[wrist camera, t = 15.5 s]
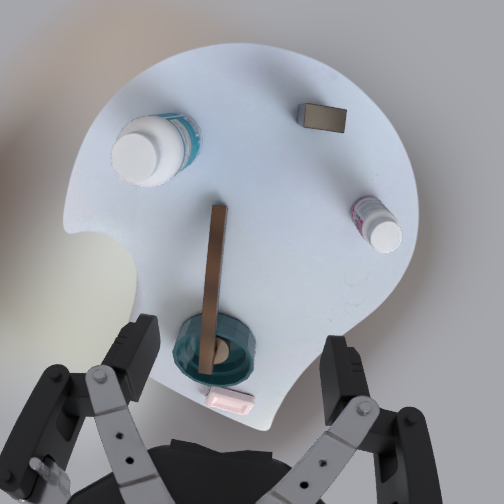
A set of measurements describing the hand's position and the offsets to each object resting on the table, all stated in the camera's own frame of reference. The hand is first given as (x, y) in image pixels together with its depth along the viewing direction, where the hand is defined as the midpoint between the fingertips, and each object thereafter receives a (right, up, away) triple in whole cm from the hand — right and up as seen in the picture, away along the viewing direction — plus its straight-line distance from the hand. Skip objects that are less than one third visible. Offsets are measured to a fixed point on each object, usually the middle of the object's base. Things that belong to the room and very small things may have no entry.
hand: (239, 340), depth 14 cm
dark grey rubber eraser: (+8, +21, +21) cm, 30 cm away
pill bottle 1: (-9, +18, +23) cm, 31 cm away
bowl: (-5, -11, +38) cm, 40 cm away
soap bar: (-4, -26, +45) cm, 52 cm away
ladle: (-4, -2, +36) cm, 36 cm away
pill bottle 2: (+16, +10, +26) cm, 32 cm away
